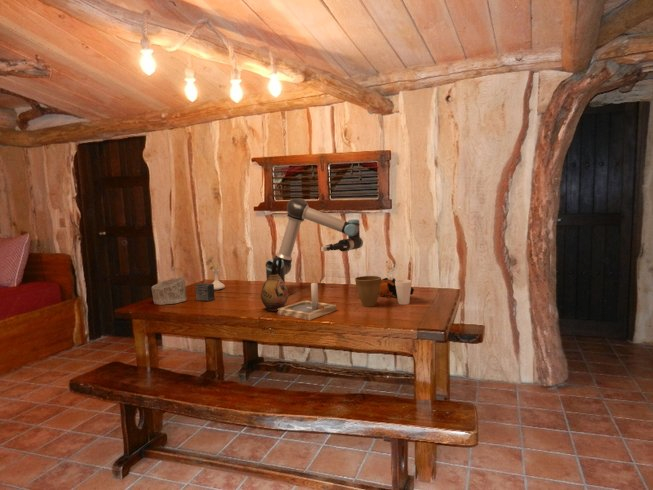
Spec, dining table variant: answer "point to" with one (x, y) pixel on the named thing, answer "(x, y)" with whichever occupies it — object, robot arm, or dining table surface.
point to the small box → (204, 292)
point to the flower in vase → (216, 282)
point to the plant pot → (368, 289)
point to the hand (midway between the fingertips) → (322, 249)
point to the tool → (389, 288)
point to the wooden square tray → (321, 311)
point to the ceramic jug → (274, 287)
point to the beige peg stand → (314, 305)
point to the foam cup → (403, 291)
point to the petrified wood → (169, 291)
